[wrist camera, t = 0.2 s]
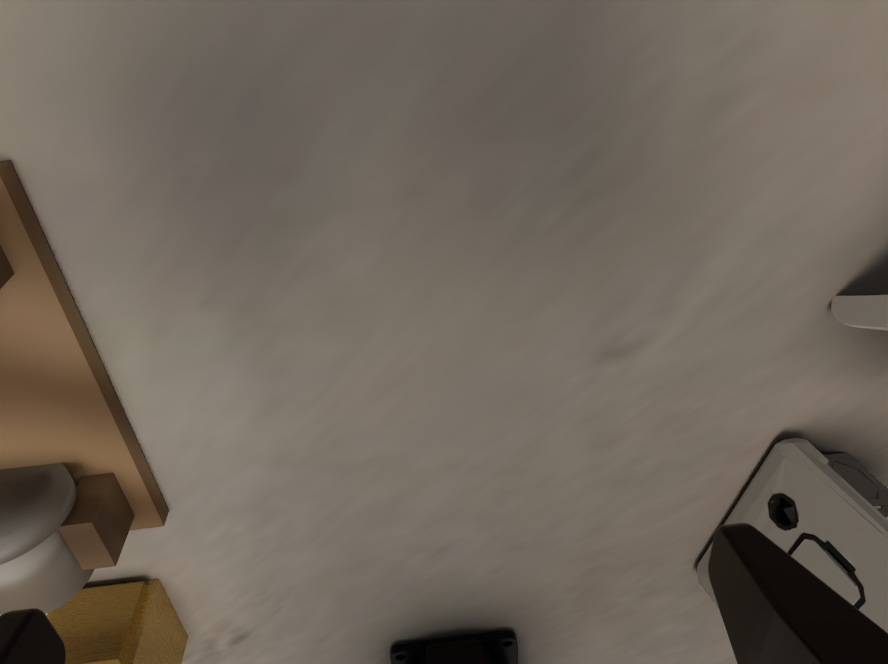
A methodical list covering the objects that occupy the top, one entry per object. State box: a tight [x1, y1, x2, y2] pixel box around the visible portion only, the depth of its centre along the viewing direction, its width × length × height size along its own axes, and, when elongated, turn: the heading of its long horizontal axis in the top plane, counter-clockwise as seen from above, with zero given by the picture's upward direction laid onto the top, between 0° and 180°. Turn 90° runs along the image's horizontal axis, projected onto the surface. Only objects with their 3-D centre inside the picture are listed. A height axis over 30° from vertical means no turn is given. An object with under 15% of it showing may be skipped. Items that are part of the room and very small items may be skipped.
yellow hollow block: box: [47, 579, 188, 664], centre depth 30 cm, size 5×4×4 cm
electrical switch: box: [697, 438, 888, 633], centre depth 28 cm, size 9×5×9 cm, turn 167°
